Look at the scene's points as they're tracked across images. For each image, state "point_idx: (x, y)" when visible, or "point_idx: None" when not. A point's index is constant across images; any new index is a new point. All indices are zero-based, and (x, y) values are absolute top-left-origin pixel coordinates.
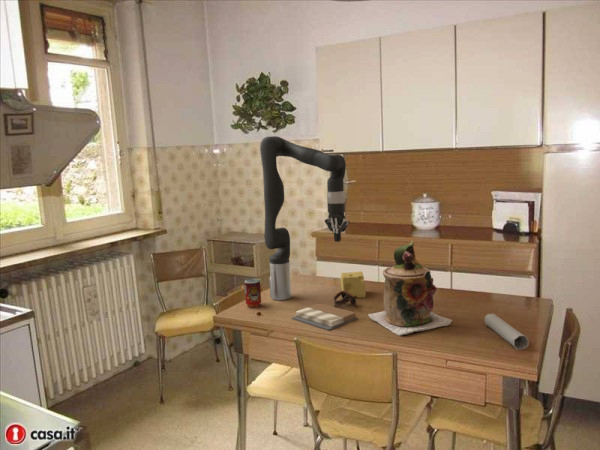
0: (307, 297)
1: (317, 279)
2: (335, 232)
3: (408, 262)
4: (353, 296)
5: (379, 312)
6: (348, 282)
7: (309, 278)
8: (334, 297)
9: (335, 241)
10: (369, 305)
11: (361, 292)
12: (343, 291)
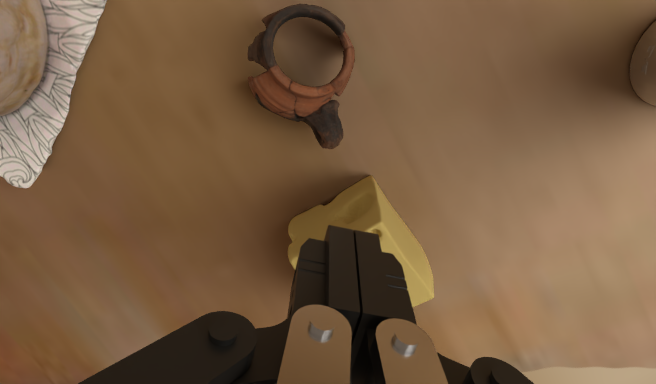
0: (542, 114)
1: (589, 337)
2: (373, 339)
3: None
4: (257, 91)
5: (88, 24)
6: (355, 222)
7: (629, 337)
8: (350, 46)
9: (365, 233)
10: (218, 132)
11: (303, 222)
12: (310, 87)
